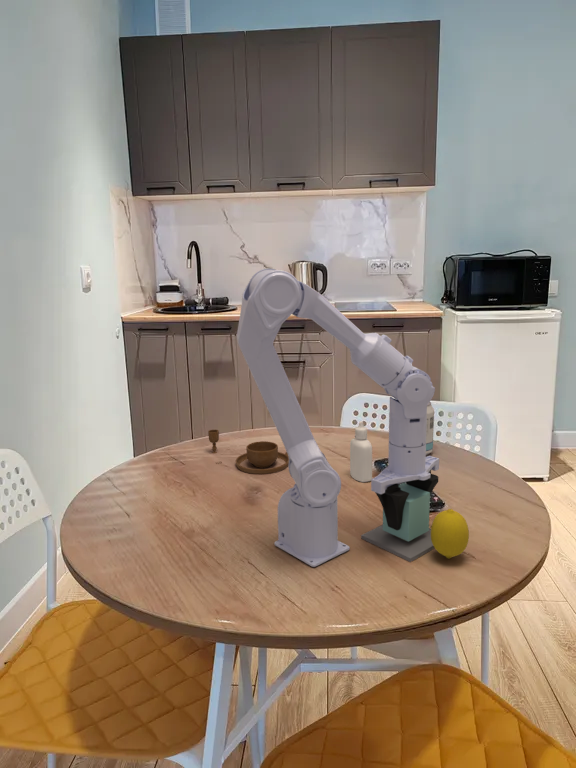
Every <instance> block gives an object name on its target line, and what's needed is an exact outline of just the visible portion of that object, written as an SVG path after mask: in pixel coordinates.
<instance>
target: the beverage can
mask: <svg viewBox="0 0 576 768" xmlns="http://www.w3.org/2000/svg"><path fill="white" fill-rule="evenodd" d="M434 422H435V410H434V408H433V405H432V402H431V401H430V402H429V403H428V405H427V430H426V457H427V456H429V454H430V453H432V452H433V450H434V429H435V427H434V426H435V425H434Z"/></svg>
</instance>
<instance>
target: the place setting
mask: <svg viewBox="0 0 576 768" xmlns="http://www.w3.org/2000/svg"><path fill="white" fill-rule="evenodd" d="M219 431H220V430H218V429H209V430H208V433H207V434H208V435H207V436H208V441H209V443H210V444H212V447H211V450H212V453H211V454H213V455H214V454H217V453H218V452H217V450H218V449H217V443H218V442H219V441H220V432H219ZM278 459H280V460H283V461H284V462H285V463H284V464H282V465H279V466H274V467H270V466H272V465H273V464H274V463H275V462H276V461H277V460H278ZM246 460H247V461H248V462H249V463H251V464H253V466H254V467H256V468H251V467H250V468H249V467H245V466H242V465H241V464H242V463H243V462H244V461H246ZM215 464H216V465H220V464H221V465H222V464H223V462H222V461H218V462H215ZM235 465H236V468H237V469H239V471H242V472H243V473H247V474H253V475H267V474H270V475H271V474H274V473H278V472H282V471H283V470H285V469H287V467H289V457H288V454H287V452H285V453H283V452H280V451H279V445H278V444H277V443H275V442H273V441H265V440H264V441H263V440H262V441H254V442H251V443H249V444H248V445H246V452H245V453H243V454H241V455H239V456H238V457H236V459H235ZM268 467H270V468H268Z"/></svg>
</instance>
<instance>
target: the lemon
mask: <svg viewBox="0 0 576 768" xmlns="http://www.w3.org/2000/svg"><path fill="white" fill-rule="evenodd" d="M430 529H431V541H432V544H433V546H434V549H435V551H437V552H438V553H439V554H440V555H441V556H444V557H445V558H446V559H452V558H453V557H457V556H459V555H461V554H462V553H463V552H464V551H465V550H466V548H467V547H468V545H469V544H468V543H469V538H470V532H469V527H468V523H467V520H466V519H465V517H464V516H463V515H462V514H461V513H460V512H458V511H456V510H454V509H452V508H449V509H445V510H442V511H440V512H438V513H437V514H436V515H435V516H434V519H433V520H432V524H431V527H430Z"/></svg>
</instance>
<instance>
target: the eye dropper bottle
mask: <svg viewBox="0 0 576 768" xmlns="http://www.w3.org/2000/svg"><path fill="white" fill-rule="evenodd" d="M349 445H350V446H349V449H350V450H349V451H350V452H349V457H350V459H349V474H350V476H351V478H352V479H354V480H355V481H357V482H361V483H367V482H371V479H373V446H372V443H371V441H369V439H368V428H367V427H365V426H364V422H363V421H359V422H358V426H357V427H355V428H354V438H352V439H351V440H350V444H349Z"/></svg>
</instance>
